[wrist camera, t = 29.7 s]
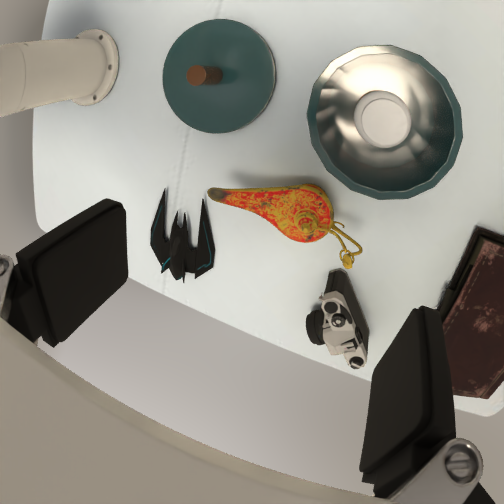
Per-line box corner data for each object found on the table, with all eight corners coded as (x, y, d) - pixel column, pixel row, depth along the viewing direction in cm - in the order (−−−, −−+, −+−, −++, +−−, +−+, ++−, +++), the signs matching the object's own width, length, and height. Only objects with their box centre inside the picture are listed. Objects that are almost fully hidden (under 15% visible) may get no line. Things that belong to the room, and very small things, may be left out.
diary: (564, 261, 29) (578, 280, 25) (487, 379, 42) (491, 401, 38) (470, 222, 33) (481, 240, 29) (400, 360, 46) (399, 384, 42)
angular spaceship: (152, 264, 54) (142, 273, 51) (153, 181, 46) (142, 188, 43) (210, 287, 52) (202, 298, 49) (222, 201, 44) (213, 209, 41)
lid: (161, 121, 41) (136, 128, 36) (176, 18, 33) (150, 12, 28) (264, 143, 38) (248, 153, 33) (287, 27, 30) (274, 18, 25)
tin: (309, 152, 37) (292, 171, 29) (335, 42, 29) (325, 27, 21) (418, 189, 34) (432, 220, 26) (451, 82, 27) (478, 81, 19)
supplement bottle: (352, 91, 31) (348, 92, 23) (399, 89, 29) (412, 89, 21) (358, 138, 33) (356, 155, 25) (405, 136, 31) (418, 153, 23)
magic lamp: (235, 150, 39) (193, 174, 30) (374, 200, 37) (375, 241, 28) (225, 198, 43) (184, 233, 34) (353, 247, 40) (346, 298, 31)
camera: (294, 279, 46) (278, 323, 39) (344, 262, 42) (338, 308, 35) (331, 339, 50) (322, 384, 43) (376, 328, 46) (374, 375, 39)
